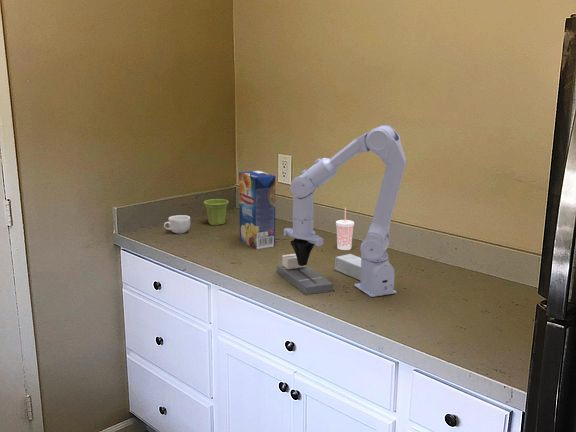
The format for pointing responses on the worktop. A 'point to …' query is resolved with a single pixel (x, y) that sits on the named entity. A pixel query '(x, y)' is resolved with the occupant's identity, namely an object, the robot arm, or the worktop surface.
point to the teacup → (178, 223)
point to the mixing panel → (305, 279)
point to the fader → (290, 261)
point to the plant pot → (216, 211)
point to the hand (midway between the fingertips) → (302, 264)
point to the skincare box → (349, 265)
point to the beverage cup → (344, 233)
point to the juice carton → (257, 209)
